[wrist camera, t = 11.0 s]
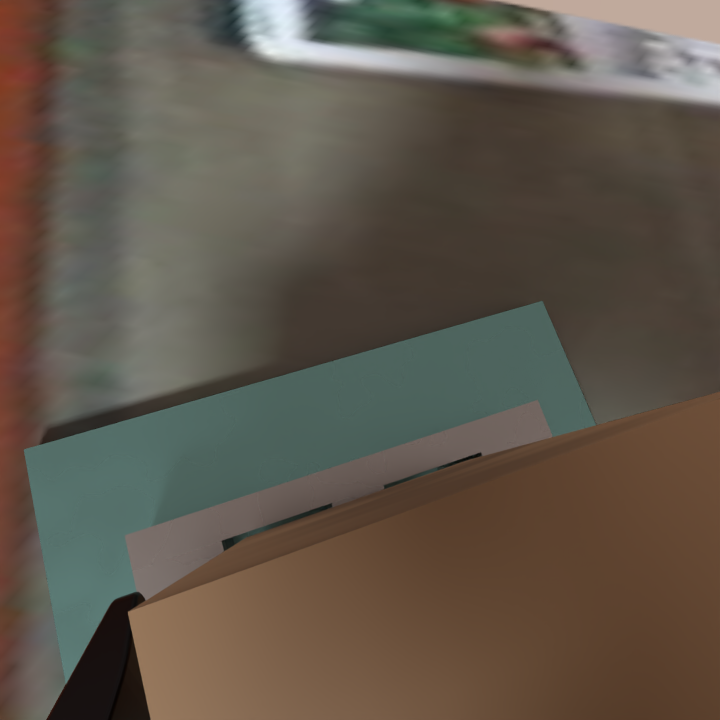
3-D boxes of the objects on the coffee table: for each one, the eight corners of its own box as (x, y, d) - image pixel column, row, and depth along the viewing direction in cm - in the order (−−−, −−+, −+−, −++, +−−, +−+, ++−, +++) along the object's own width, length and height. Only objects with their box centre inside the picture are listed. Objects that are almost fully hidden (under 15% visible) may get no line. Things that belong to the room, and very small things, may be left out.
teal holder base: (533, 308, 20) (576, 271, 17) (671, 632, 18) (753, 659, 14) (36, 452, 17) (-24, 439, 14) (115, 882, 14) (63, 991, 11)
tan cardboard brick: (435, 469, 17) (792, 371, 5) (467, 560, 17) (977, 718, 4) (256, 531, 16) (127, 612, 4) (284, 632, 15) (241, 1142, 3)
